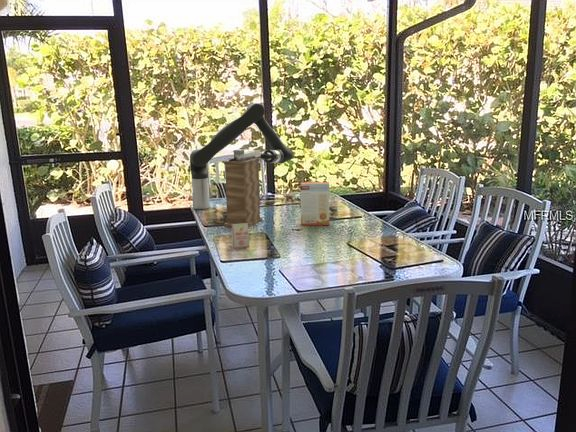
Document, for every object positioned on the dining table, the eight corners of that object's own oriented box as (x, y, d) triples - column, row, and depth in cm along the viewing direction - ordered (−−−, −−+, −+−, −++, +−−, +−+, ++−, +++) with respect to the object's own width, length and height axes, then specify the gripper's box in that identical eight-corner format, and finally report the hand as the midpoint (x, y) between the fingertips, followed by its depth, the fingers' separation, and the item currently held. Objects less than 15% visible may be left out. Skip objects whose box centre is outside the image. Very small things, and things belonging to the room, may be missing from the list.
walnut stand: (246, 228, 240) (244, 159, 233) (224, 226, 245) (222, 158, 237) (262, 220, 256) (261, 155, 249) (241, 218, 261) (240, 155, 253)
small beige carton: (231, 246, 212) (231, 223, 210) (247, 244, 214) (246, 222, 212) (233, 248, 209) (232, 225, 207) (249, 247, 211) (248, 224, 208)
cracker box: (329, 222, 250) (329, 181, 245) (329, 225, 244) (329, 183, 239) (301, 222, 252) (301, 181, 247) (300, 225, 246) (300, 183, 241)
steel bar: (240, 161, 238) (240, 150, 237) (234, 160, 239) (233, 150, 238) (260, 156, 258) (260, 146, 257) (254, 155, 259) (254, 146, 258)
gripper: (260, 149, 285) (247, 149, 270) (283, 149, 279) (270, 149, 264) (260, 162, 286) (247, 163, 271) (283, 163, 280) (270, 164, 265)
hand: (258, 156), depth 268 cm, fingers open, 8 cm apart
